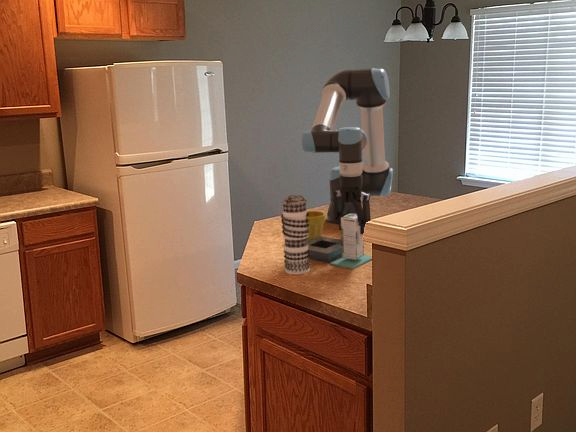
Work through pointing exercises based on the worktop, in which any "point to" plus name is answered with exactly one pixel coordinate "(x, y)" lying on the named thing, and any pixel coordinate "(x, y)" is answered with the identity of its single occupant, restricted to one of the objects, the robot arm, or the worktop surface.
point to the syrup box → (350, 238)
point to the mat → (351, 262)
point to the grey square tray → (324, 249)
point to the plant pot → (315, 223)
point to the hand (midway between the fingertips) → (352, 241)
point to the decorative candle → (295, 235)
